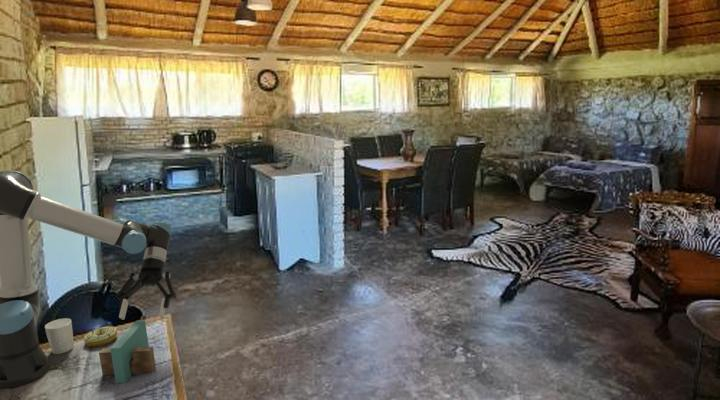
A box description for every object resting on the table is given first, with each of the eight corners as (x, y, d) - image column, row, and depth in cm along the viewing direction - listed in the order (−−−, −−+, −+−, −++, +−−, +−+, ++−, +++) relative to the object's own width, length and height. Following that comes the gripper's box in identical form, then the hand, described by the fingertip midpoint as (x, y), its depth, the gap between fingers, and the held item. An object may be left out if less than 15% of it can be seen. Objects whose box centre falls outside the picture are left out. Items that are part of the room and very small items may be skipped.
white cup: (80, 343, 169) (76, 318, 166) (65, 355, 161) (60, 329, 159) (60, 343, 169) (55, 318, 167) (44, 354, 162) (39, 328, 160)
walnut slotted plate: (102, 375, 149) (98, 352, 147) (106, 370, 151) (102, 348, 149) (152, 373, 149) (149, 350, 147) (155, 368, 152) (152, 346, 150)
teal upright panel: (140, 352, 162) (136, 320, 159) (149, 351, 162) (145, 320, 159) (116, 383, 144) (110, 348, 142) (125, 382, 144) (120, 348, 142)
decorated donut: (88, 337, 174) (86, 327, 173) (119, 331, 177) (118, 322, 176) (81, 350, 164) (80, 341, 163) (115, 344, 168) (114, 335, 167)
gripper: (191, 264, 174) (181, 320, 163) (124, 266, 174) (109, 322, 163) (184, 256, 168) (174, 313, 157) (115, 258, 168) (99, 315, 156)
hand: (141, 317), depth 160 cm, fingers open, 13 cm apart
